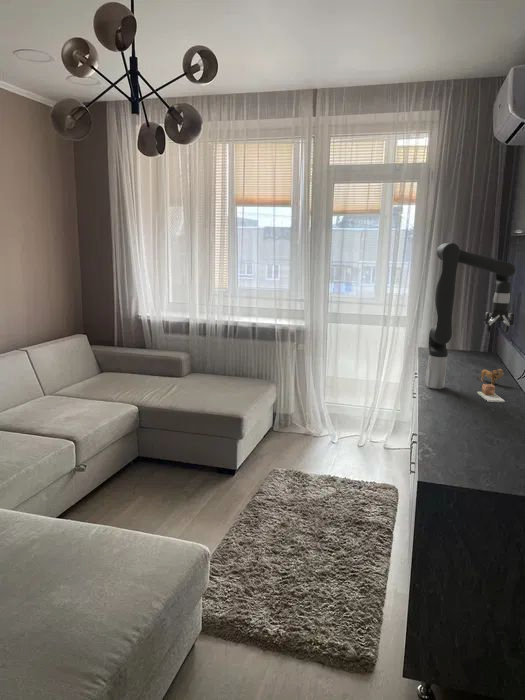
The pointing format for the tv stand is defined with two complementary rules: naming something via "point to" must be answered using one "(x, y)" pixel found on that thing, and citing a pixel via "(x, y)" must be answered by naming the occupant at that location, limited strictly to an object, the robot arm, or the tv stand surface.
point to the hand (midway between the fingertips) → (497, 332)
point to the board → (491, 397)
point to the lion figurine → (492, 375)
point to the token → (488, 389)
